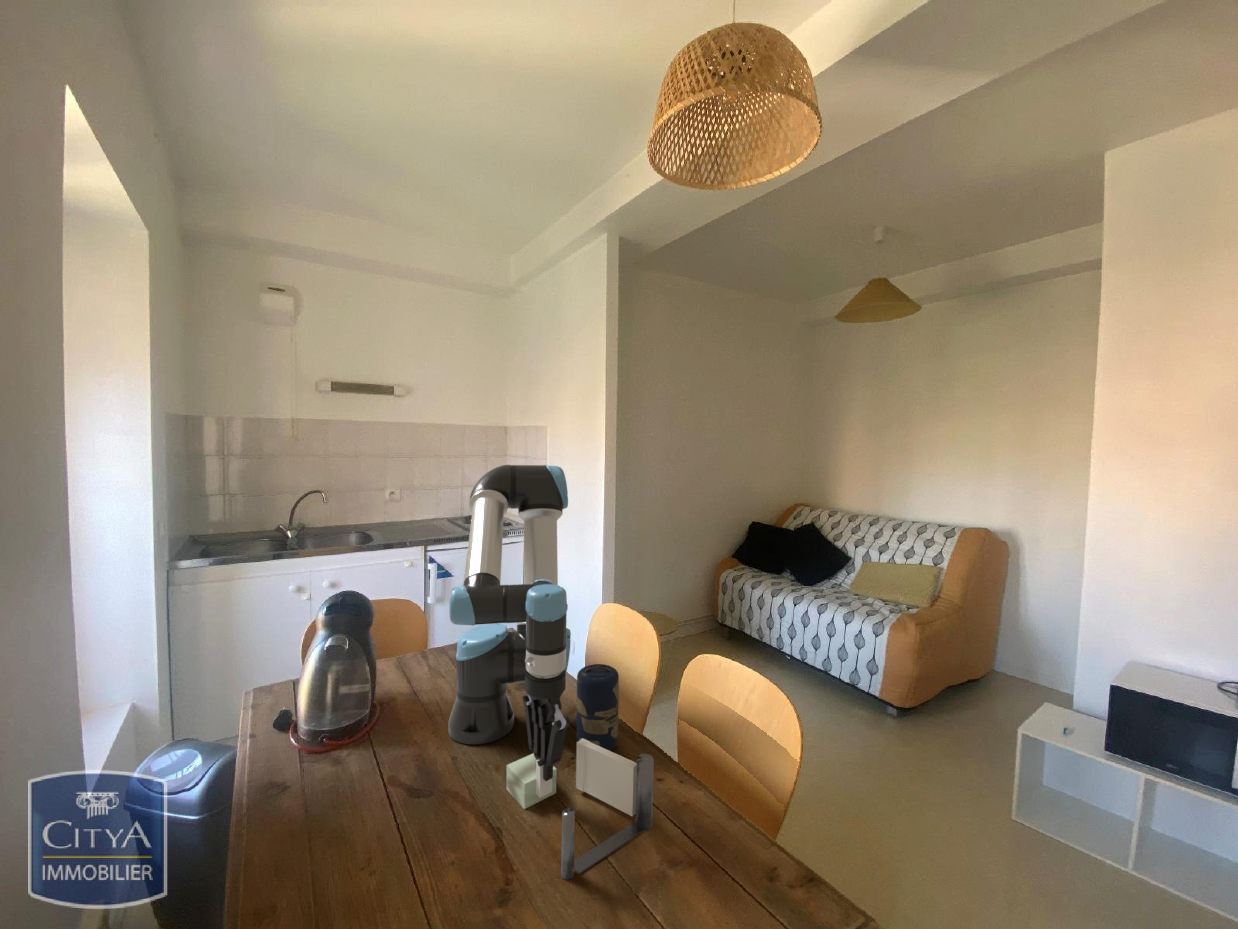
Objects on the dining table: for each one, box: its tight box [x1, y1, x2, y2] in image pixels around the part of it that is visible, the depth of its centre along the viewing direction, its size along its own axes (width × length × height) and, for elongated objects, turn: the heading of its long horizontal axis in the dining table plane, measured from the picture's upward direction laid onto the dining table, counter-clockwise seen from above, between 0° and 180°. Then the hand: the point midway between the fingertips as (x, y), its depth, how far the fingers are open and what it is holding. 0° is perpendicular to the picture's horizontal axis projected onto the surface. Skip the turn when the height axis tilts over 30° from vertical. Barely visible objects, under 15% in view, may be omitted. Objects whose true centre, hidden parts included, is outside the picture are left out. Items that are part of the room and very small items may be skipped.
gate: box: [575, 738, 637, 817], centre depth 94 cm, size 13×2×9 cm, turn 55°
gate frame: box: [560, 753, 655, 881], centre depth 84 cm, size 3×19×12 cm, turn 131°
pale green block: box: [505, 752, 557, 810], centre depth 97 cm, size 7×7×5 cm
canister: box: [575, 663, 620, 752], centre depth 112 cm, size 10×10×18 cm
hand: (543, 792), depth 94 cm, fingers closed
